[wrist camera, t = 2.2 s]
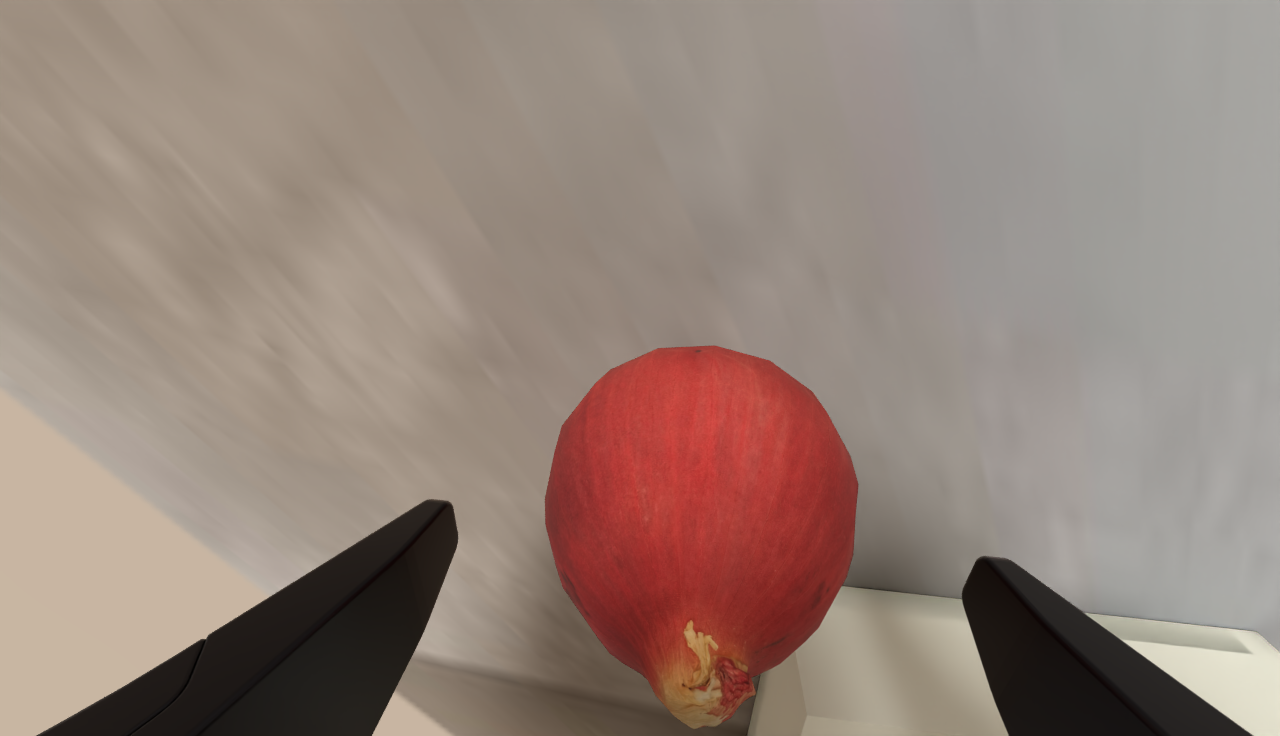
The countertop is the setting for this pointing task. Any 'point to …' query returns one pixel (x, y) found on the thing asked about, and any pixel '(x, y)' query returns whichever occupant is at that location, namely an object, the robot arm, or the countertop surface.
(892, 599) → the bin
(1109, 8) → the countertop surface
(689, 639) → the onion
